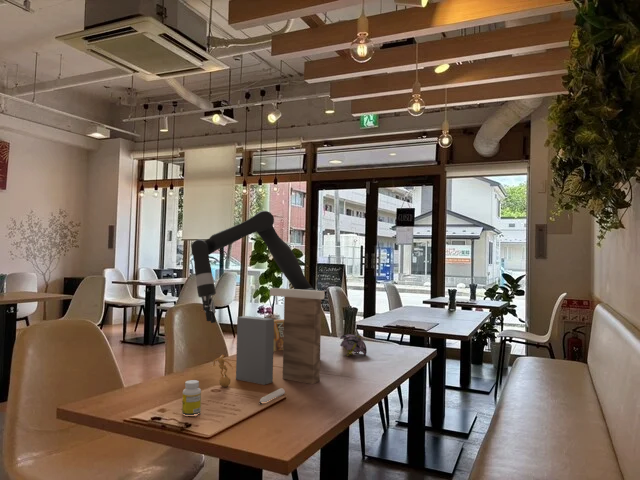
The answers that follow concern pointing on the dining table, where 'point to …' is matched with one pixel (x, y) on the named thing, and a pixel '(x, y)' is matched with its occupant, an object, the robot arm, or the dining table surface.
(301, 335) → the tall wooden block
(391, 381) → the dining table surface
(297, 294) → the bar
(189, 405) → the supplement bottle
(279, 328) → the candy box
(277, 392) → the marker
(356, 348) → the decorative flower
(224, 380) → the figurine
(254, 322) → the grey rectangular box
